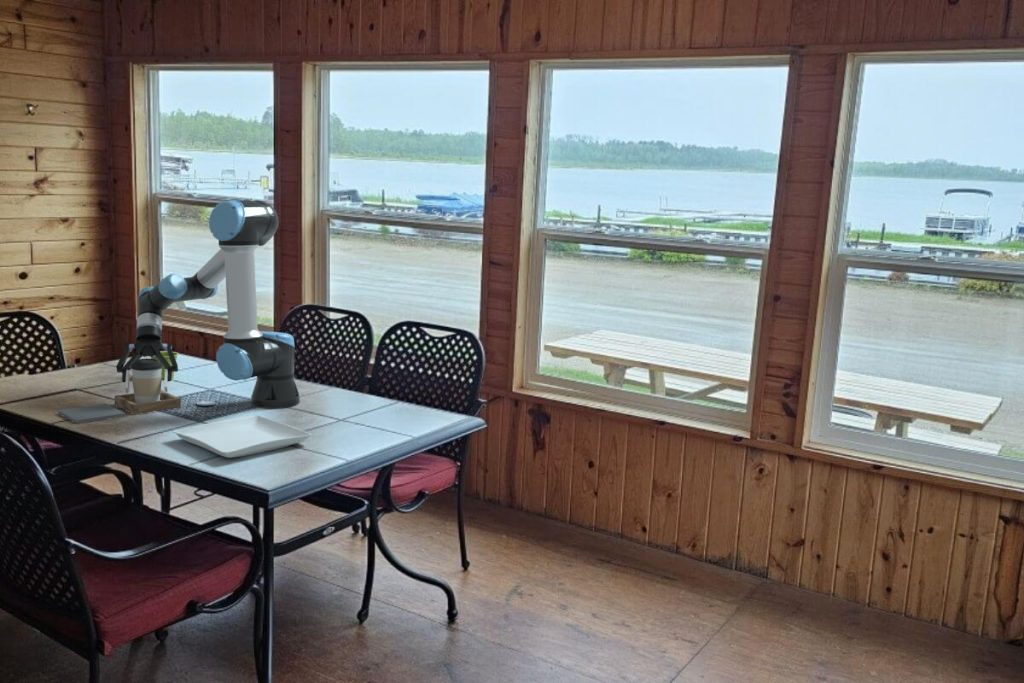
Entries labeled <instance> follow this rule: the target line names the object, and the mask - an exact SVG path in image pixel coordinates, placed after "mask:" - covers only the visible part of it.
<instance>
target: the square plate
mask: <svg viewBox="0 0 1024 683" xmlns="http://www.w3.org/2000/svg"><path fill="white" fill-rule="evenodd" d="M172 433H173V434H175V435H176V436H177V437H178V438H180V439H182V440H183V441H186V442H187V443H190V444H192V445H195V446H198V447H201V448H203V449H206V450H208V451H211V452H213V453H215V454H217V455H219V456H221V457H225V458H227V459H228V458H229V459H232V458H242V457H247V456H252V455H256V454H260V453H265V452H268V451H269V452H270V451H273V450H277V449H282V448H286V447H289V446H291V445H296V444H300V443H302V442H304V441H306V440H308V439H309V438H310V437H311V436H312V433H311V432H307V431H305V430H303V429H300V428H298V427H294V426H292V425H288V424H286V423H284V422H280V421H277V420H275V419H274V420H273V419H272V418H271V419H270V418H267V417H264V416H261V415H252V416H245V417H239V418H232V419H227V420H219V421H215V422H209V423H204V424H198V425H195V426H194V425H193V426H189V427H185V428H180V429H175V430H173V431H172Z"/></svg>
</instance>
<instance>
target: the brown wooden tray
mask: <svg viewBox="0 0 1024 683" xmlns="http://www.w3.org/2000/svg"><path fill="white" fill-rule="evenodd" d="M160 400H161V401H154V402H147V403H140V404H136V402H135V395H134V392H133V393H125V394H118V395H114V406H115V405H117V406H119V407H121V408H123V409H125V410H127V411H129V412H131V413H133V414H139V415H141V414H140V413H145V414H149V413H148V412H152V413H154V412H153V411H158V412H162V411H161V410H165V411H168V410H167V409H171V410H175V409H174V408H178V409H181V408H182V407H181V406H182V405H181V398H180V397H178V396H175V395H173V394H170V393H169V392H165V390H162V389H161V394H160ZM117 406H116V407H117ZM119 407H118V408H119ZM121 408H120V409H121ZM123 409H122V410H123ZM125 410H124V411H125ZM127 411H126V412H127ZM129 412H128V413H129ZM131 413H130V414H131ZM133 414H132V415H133Z"/></svg>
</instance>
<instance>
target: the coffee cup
mask: <svg viewBox="0 0 1024 683" xmlns="http://www.w3.org/2000/svg"><path fill="white" fill-rule="evenodd" d="M131 366H132V367H131V369H130V370H131V374H132V376H131V379H132V386H133V393H134V395H135V402H136V404H140V403H147V402H154V401H160V394H161V390H162V381H163V380H162V374H161V371H162V364H161V363H159V361H158V360H156V359H151V358H140V359H138V360H136V361H135V362H134V363H133V364H132V365H131Z"/></svg>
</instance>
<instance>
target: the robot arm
mask: <svg viewBox="0 0 1024 683" xmlns="http://www.w3.org/2000/svg"><path fill="white" fill-rule="evenodd" d="M208 218H209V220H208V228H209V231H210V233H211V234H212V236H213V237H214V238H215V239H216V240H218V247H219V248H220V249H219V250H218V251H217V252H216V253H215V254H214V255H213V256H212V257H210V259H209V260H208V261H207V262H206V263H205V264H204V265H203V266H201V268H200V269H199V270H198V271H197V272H196V273H195V274H194V275H193V276H190V277H183V276H182V275H179V274H177V273H169V274H168V275H166V276H165V277H163V278H162V279H161V280H160V281H159V282H158V283H156V285H155V286H147V287H143V288H141V290H140V291H139V293H138V297H137V310H136V311H137V318H136V332H135V333H136V334H135V335H136V336H135V342H134V343H129V342H124V349H123V351H122V354H121V355H120V357H119V359H118V362H117V365H116V368H115V369H116V372H117V373H121V374H122V375H121V380H122V383H125V386H124V388H125V394H130V393H129V392H130V376H131V375H130V371H131V370H132V369H131V367H132V366H131V365H132V364H133V363H134V362H135V361H136V360H138V359H142V357H143V358H145V357H150V358H151V357H154V356H155V357H156V358H157V359H158V360H159V361H160V363H161V364H162V365H163V366H164V368H165V379H164V392H166V393H169V392H168V385H169V382H171V381H172V379H173V378H172V372H174V373H175V372H178V371H179V365H178V363H177V359H176V360H175V357H174V355H173V352H174V351H173V346H172V342H170V341H168V342H167V343H163V342H162V338H163V337H162V334H163V332H162V330H163V312H164V311H165V310H166V309H167V308H169V307H170V306H171V305H173V304H174V303H180V302H185V301H194V300H195V301H196V300H206V299H208V298H213V297H214V296H216V294H217V291H218V290H219V287H218V285H219V284H220V283H221V282H222V281H223V280H225V287H226V288H225V289H226V290H225V292H226V307H227V308H226V309H227V328H228V330H227V331H226V332H225V334H224V335H223V344H222V345H220V346H219V347H218V349H217V350H216V355H215V356H216V357H215V359H216V364H217V367H218V370H219V371H220V372H221V373H223V375H224V377H226V378H228V379H229V380H232V381H242V380H243V381H246V380H249V379H251V378H255V377H256V381H255V384H254V387H253V389H252V392H251V393H252V394H251V397H250V398H251V399H250V402H251V405H253V406H254V407H257V408H258V407H259V408H265V409H282V408H283V409H285V408H290V407H295V406H297V405H299V404H300V398H301V397H300V393H299V390H298V387H297V384H296V380H295V347H296V346H295V339H294V336H293V335H291V334H290V333H286V332H277V331H267V330H266V331H265V330H264V331H260V330H259V329H258V309H257V291H256V290H257V288H256V287H257V286H256V268H255V267H256V265H255V250H256V249H257V248H258V247H263V246H265V245H266V244H267V243H268V242H269V241H270V240H271V239H272V238H273V236H274V235H275V234H276V232H277V230H278V228H279V216H278V213H277V211H276V209H275V208H274V207H273V206H272V205H271V204H270V203H268V202H267V201H264V200H240V199H239V200H235V199H232V200H225V201H221V202H219V203H217V204H216V205H215V207H214V208H212V210H211V213H210V215H209V217H208ZM133 349H135V352H134V354H132V356H131V357H130V359H128V358H129V356H130V354H131V353H130V352H132V351H133ZM163 349H164V351H165V352H168V356H169V358H170V361H171V364H172V366H170V364H169V363H168V362H167V360H166V359H165V358H164V357H163V355H162V354H161V352H162V351H161V350H163ZM127 359H128V360H127ZM126 361H127V362H126Z"/></svg>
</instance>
